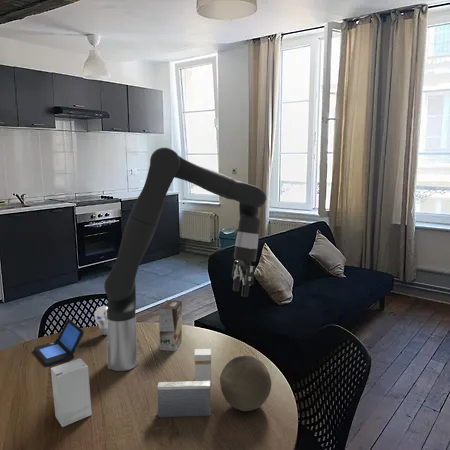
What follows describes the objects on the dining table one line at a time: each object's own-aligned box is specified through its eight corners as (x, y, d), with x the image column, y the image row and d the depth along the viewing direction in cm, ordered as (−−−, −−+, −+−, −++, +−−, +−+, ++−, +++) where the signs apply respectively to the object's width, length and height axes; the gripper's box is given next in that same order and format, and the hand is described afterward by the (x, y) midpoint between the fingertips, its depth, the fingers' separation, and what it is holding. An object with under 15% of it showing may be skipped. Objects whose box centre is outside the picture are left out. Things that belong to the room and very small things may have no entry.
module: (194, 385, 125) (194, 355, 124) (195, 378, 129) (194, 349, 128) (211, 385, 125) (211, 354, 124) (211, 378, 129) (210, 348, 128)
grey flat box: (158, 417, 110) (157, 387, 108) (159, 411, 112) (158, 382, 111) (210, 415, 110) (210, 385, 109) (210, 410, 113) (210, 380, 111)
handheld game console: (33, 351, 148) (31, 327, 147) (69, 340, 157) (68, 317, 155) (47, 367, 136) (45, 341, 135) (86, 355, 145) (84, 330, 144)
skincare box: (84, 406, 115) (81, 356, 112) (92, 416, 110) (89, 365, 108) (53, 417, 109) (49, 366, 107) (60, 429, 105) (57, 375, 103)
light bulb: (117, 333, 163) (116, 304, 161) (105, 340, 156) (104, 310, 154) (103, 330, 165) (102, 302, 164) (91, 337, 159) (90, 307, 157)
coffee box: (176, 351, 147) (175, 309, 145) (159, 350, 148) (158, 308, 146) (182, 340, 156) (181, 300, 154) (166, 339, 157) (165, 299, 155)
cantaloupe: (221, 394, 120) (221, 346, 118) (269, 395, 120) (269, 347, 118) (218, 425, 107) (218, 371, 104) (273, 426, 106) (274, 372, 104)
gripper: (229, 243, 143) (223, 288, 143) (243, 247, 129) (236, 297, 129) (248, 245, 145) (242, 290, 145) (265, 249, 131) (258, 299, 132)
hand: (240, 293), depth 137 cm, fingers open, 8 cm apart
